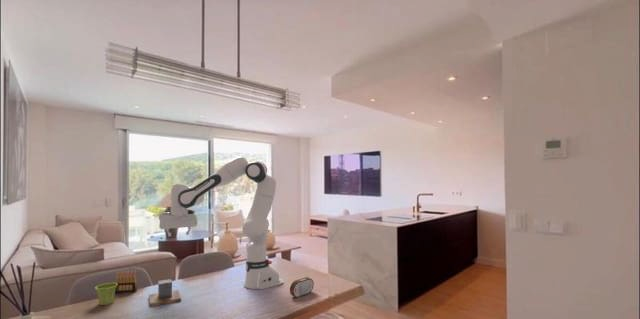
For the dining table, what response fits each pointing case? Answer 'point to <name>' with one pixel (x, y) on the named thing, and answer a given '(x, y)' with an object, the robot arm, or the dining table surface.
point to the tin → (301, 287)
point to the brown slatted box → (126, 282)
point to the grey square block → (164, 289)
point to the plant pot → (106, 293)
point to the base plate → (156, 301)
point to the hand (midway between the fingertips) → (178, 235)
